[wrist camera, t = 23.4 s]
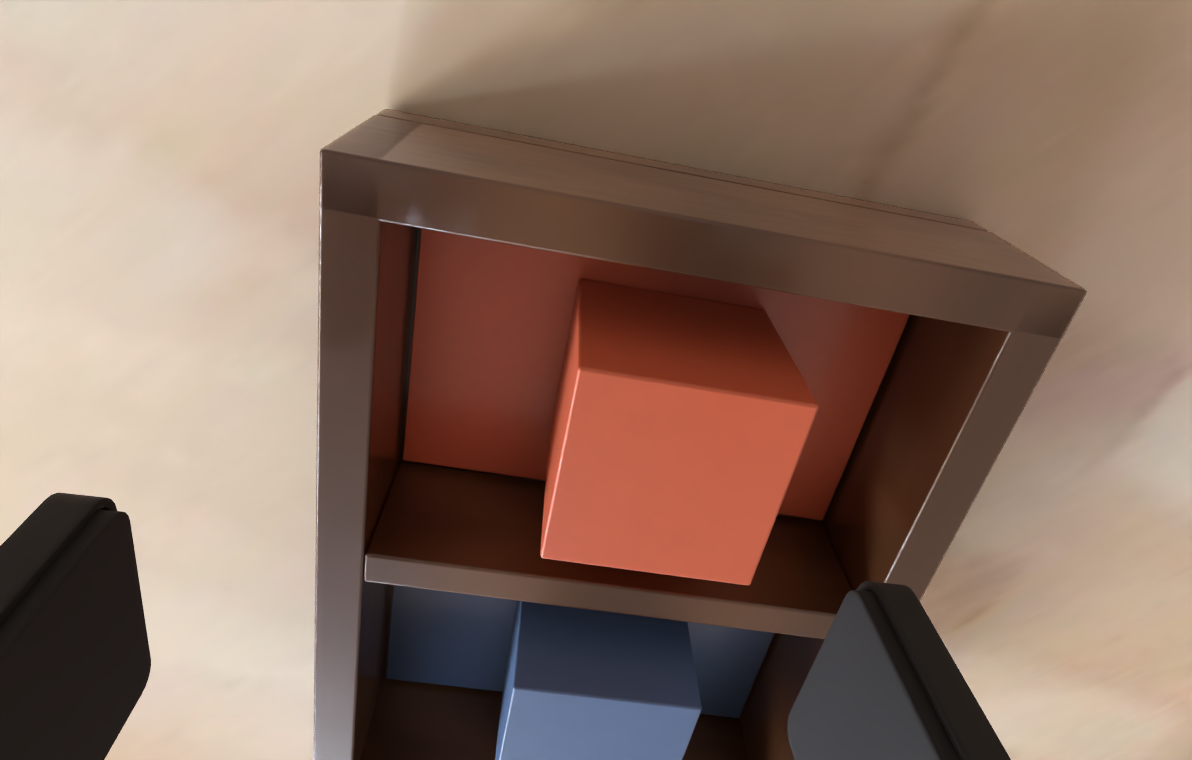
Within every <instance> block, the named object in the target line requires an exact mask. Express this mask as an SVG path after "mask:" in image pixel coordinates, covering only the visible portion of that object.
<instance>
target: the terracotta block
mask: <svg viewBox="0 0 1192 760" xmlns="http://www.w3.org/2000/svg"><path fill="white" fill-rule="evenodd" d="M818 408H819V407H818V403H817V402H816V400H815V398H814V396H813V395H812V393H811V391H810V389H809V387H808V386H807V384H806V382H805V380H804V378H803V377H802V375H801V373H800V371H799V370H798V368H797V366H796V364H795V362H794V361H793V359H792V357H791V355H790V353H789V352H788V350H787V348H786V346H785V345H784V343H783V341H782V339H781V337H780V336H779V334H778V332H777V330H776V328H775V327H774V325H773V323H772V321H771V320H770V318H769V316H768V314H767V312H766V311H764V310H759V309H754V308H748V307H742V306H736V305H731V304H725V303H719V302H713V301H707V300H702V299H696V298H690V297H684V296H679V295H673V294H667V293H661V292H655V291H650V290H644V289H638V288H632V287H627V286H621V285H615V284H609V283H603V282H598V281H592V280H586V279H580V280H579V281H578V286H577V291H576V296H575V302H574V307H573V312H572V318H571V323H570V328H569V334H568V339H567V344H566V349H565V355H564V360H563V365H562V371H561V376H560V381H559V387H558V392H557V397H556V402H555V408H554V413H553V418H552V424H551V429H550V434H549V441H548V455H547V469H546V482H545V496H544V510H543V523H542V537H541V550H540V555H541V558H544V559H552V560H559V561H567V562H574V563H582V564H589V565H597V566H605V567H612V568H620V569H627V570H635V571H642V572H650V573H658V574H665V575H673V576H680V577H688V578H695V579H703V580H710V581H718V582H726V583H733V584H741V585H750V584H751V582H752V579H753V576H754V574H755V571H756V569H757V566H758V564H759V561H760V558H761V556H762V553H763V551H764V548H765V545H766V543H767V540H768V538H769V535H770V532H771V530H772V527H773V525H774V522H775V520H776V517H777V514H778V512H779V509H780V507H781V504H782V501H783V499H784V496H785V494H786V491H787V488H788V486H789V483H790V481H791V478H792V476H793V473H794V470H795V468H796V465H797V463H798V460H799V457H800V455H801V452H802V450H803V447H804V444H805V442H806V439H807V437H808V434H809V432H810V429H811V426H812V424H813V421H814V419H815V416H816V413H817V411H818Z"/></svg>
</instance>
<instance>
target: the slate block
mask: <svg viewBox="0 0 1192 760" xmlns="http://www.w3.org/2000/svg"><path fill="white" fill-rule="evenodd" d="M701 710H702V707H701V701H700V695H699V689H698V683H697V677H696V671H695V664H694V658H693V652H692V646H691V640H690V634H689V628H688V622H684V621H676V620H668V619H660V618H652V617H644V616H636V615H628V614H620V613H612V612H604V611H596V610H588V609H580V608H572V607H564V606H556V605H549V604H541V603H533V602H525V601H517V606H516V611H515V617H514V622H513V627H512V633H511V638H510V643H509V648H508V654H507V659H506V666H505V674H504V683H503V692H502V701H501V710H500V719H499V728H498V737H497V746H496V755H495V760H682V759H683V757H684V754H685V751H686V749H687V746H688V744H689V741H690V738H691V736H692V733H693V731H694V728H695V726H696V723H697V720H698V718H699V715H700V713H701Z"/></svg>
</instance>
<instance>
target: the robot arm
mask: <svg viewBox="0 0 1192 760" xmlns="http://www.w3.org/2000/svg"><path fill="white" fill-rule="evenodd" d="M150 667H151V658H150V651H149V645H148V638H147V631H146V625H145V618H144V611H143V605H142V598H141V591H140V585H139V578H138V571H137V565H136V558H135V551H134V545H133V538H132V531H131V525H130V520H129V516H128V515H127V514H126V513H125V512H118V511H117V509H116V506H115V503H114V502H113V501H112V500H111V499H109V498H103V497H93V496H84V495H75V494H66V493H56V494H53V495H51V496H50V497H48V498H47V499H46V500H45V501H44V502H43V503H42V504H41V505H40V506H39V507H38V508H37V509H36V510H35V511H34V512H33V513H32V514H31V515H30V516H29V517H28V518H27V519H26V520H25V521H24V522H23V523H22V524H21V525H20V526H19V527H18V529H17V530H16V531H15V532H14V533H13V534H12V535H11V536H10V537H9V538H8V539H7V540H6V541H5V542H4V543H3V544H2V545H1V546H0V760H104V759H105V757H106V755H107V754H108V752H109V750H110V748H111V747H112V745H113V743H114V741H115V740H116V738H117V736H118V734H119V733H120V731H121V729H122V727H123V726H124V724H125V722H126V721H127V719H128V717H129V715H130V714H131V712H132V710H133V708H134V707H135V705H136V703H137V701H138V700H139V698H140V696H141V694H142V692H143V690H144V688H145V686H146V683H147V681H148V677H149V673H150ZM787 731H788V739H789V743H790V746H791V750H792V753H793V756H794V760H1011V759H1010V758H1009V756H1008V754H1007V752H1006V751H1005V749H1004V747H1003V745H1002V744H1001V742H1000V740H999V738H998V737H997V735H996V733H995V732H994V730H993V728H992V726H991V725H990V723H989V721H988V719H987V718H986V716H985V714H984V712H983V711H982V709H981V707H980V706H979V704H978V702H977V700H976V699H975V697H974V695H973V693H972V692H971V690H970V688H969V687H968V685H967V683H966V681H965V680H964V678H963V676H962V674H961V673H960V671H959V669H958V667H957V666H956V664H955V662H954V661H953V659H952V657H951V655H950V654H949V652H948V650H947V648H946V647H945V645H944V643H943V641H942V640H941V638H940V636H939V635H938V633H937V631H936V629H935V628H934V626H933V624H932V622H931V621H930V619H929V617H928V615H927V614H926V612H925V610H924V609H923V607H922V605H921V603H920V602H919V600H918V598H917V596H916V595H915V593H914V592H913V591H912V589H911V588H909V587H908V586H906V585H900V584H891V583H882V582H873V581H864V582H863V583H861V584H860V585H859V587H858V588H857V590H851V591H849V592H848V593H847V594H846V596H845V598H844V600H843V602H842V604H841V606H840V608H839V610H838V612H837V614H836V617H835V619H834V621H833V623H832V625H831V627H830V629H829V631H828V633H827V636H826V638H825V640H824V642H823V644H822V646H821V648H820V650H819V652H818V654H817V657H816V659H815V661H814V663H813V665H812V667H811V669H810V671H809V673H808V675H807V678H806V680H805V682H804V684H803V686H802V688H801V690H800V692H799V694H798V696H797V699H796V701H795V703H794V705H793V707H792V709H791V711H790V714H789V717H788V726H787Z"/></svg>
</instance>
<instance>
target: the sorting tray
mask: <svg viewBox="0 0 1192 760" xmlns="http://www.w3.org/2000/svg"><path fill="white" fill-rule="evenodd" d="M580 279H586V280H592V281H598V282H603V283H609V284H615V285H621V286H627V287H632V288H638V289H644V290H650V291H655V292H661V293H667V294H673V295H679V296H684V297H690V298H696V299H702V300H707V301H713V302H719V303H725V304H731V305H736V306H742V307H748V308H754V309H759V310H764V311H766V312H767V314H768V316H769V318H770V320H771V321H772V323H773V325H774V327H775V328H776V330H777V332H778V334H779V336H780V337H781V339H782V341H783V343H784V345H785V346H786V348H787V350H788V352H789V353H790V355H791V357H792V359H793V361H794V362H795V364H796V366H797V368H798V370H799V371H800V373H801V375H802V377H803V378H804V380H805V382H806V384H807V386H808V387H809V389H810V391H811V393H812V395H813V396H814V398H815V400H816V402H817V403H818V407H819V408H818V411H817V413H816V416H815V419H814V421H813V424H812V426H811V429H810V432H809V434H808V437H807V439H806V442H805V444H804V447H803V450H802V452H801V455H800V457H799V460H798V463H797V465H796V468H795V470H794V473H793V476H792V478H791V481H790V483H789V486H788V488H787V491H786V494H785V496H784V499H783V501H782V504H781V507H780V509H779V512H778V514H777V517H776V520H775V522H774V525H773V527H772V530H771V532H770V535H769V538H768V540H767V543H766V545H765V548H764V551H763V553H762V556H761V558H760V561H759V564H758V566H757V569H756V571H755V574H754V576H753V579H752V582H751V584H750V585H741V584H733V583H726V582H718V581H710V580H703V579H695V578H688V577H680V576H673V575H665V574H658V573H650V572H642V571H635V570H627V569H620V568H612V567H605V566H597V565H589V564H582V563H574V562H567V561H559V560H552V559H544V558H541V555H540V550H541V537H542V523H543V510H544V496H545V482H546V469H547V455H548V441H549V434H550V429H551V424H552V418H553V413H554V408H555V402H556V397H557V392H558V387H559V381H560V376H561V371H562V365H563V360H564V355H565V349H566V344H567V339H568V334H569V328H570V323H571V318H572V312H573V307H574V302H575V296H576V291H577V286H578V281H579V280H580ZM1085 295H1086V290H1085V289H1084V288H1082V287H1080V286H1079V285H1077V284H1075V283H1074V282H1072V281H1070V280H1069V279H1067V278H1065V277H1064V276H1062V275H1061V274H1059V273H1057V272H1056V271H1054V270H1052V269H1051V268H1049V267H1047V266H1046V265H1044V264H1042V263H1041V262H1039V261H1038V260H1036V259H1034V258H1033V257H1031V256H1029V255H1028V254H1026V253H1024V252H1023V251H1021V250H1019V249H1018V248H1016V247H1015V246H1013V245H1011V244H1010V243H1008V242H1006V241H1005V240H1003V239H1001V238H1000V237H998V236H996V235H995V234H993V233H992V232H989V231H987V230H986V229H984V228H983V227H981V226H979V225H978V224H976V223H974V222H973V221H967V220H962V219H957V218H952V217H946V216H941V215H936V214H931V213H926V212H920V211H915V210H910V209H905V208H900V207H894V206H889V205H884V204H879V203H873V202H868V201H863V200H858V199H853V198H847V197H842V196H837V195H832V194H827V193H821V192H816V191H811V190H806V189H801V188H795V187H790V186H785V185H780V184H774V183H769V182H764V181H759V180H754V179H748V178H743V177H738V176H733V175H728V174H722V173H717V172H712V171H707V170H701V169H696V168H691V167H686V166H681V165H675V164H670V163H665V162H660V161H655V160H649V159H644V158H639V157H634V156H628V155H623V154H618V153H613V152H608V151H602V150H597V149H592V148H587V147H582V146H576V145H571V144H566V143H561V142H555V141H550V140H545V139H540V138H535V137H529V136H524V135H519V134H514V133H509V132H503V131H498V130H493V129H488V128H483V127H477V126H472V125H467V124H462V123H456V122H451V121H446V120H441V119H436V118H430V117H425V116H420V115H415V114H410V113H404V112H399V111H394V110H389V109H386V110H383V111H381V112H380V113H378V114H377V115H374V116H373V117H371V118H369V119H368V120H366V121H365V122H363V123H362V124H360V125H358V126H357V127H355V128H354V129H352V130H351V131H349V132H347V133H346V134H344V135H343V136H341V137H340V138H338V139H336V140H335V141H333V142H332V143H330V144H329V145H327V146H325V147H324V148H322V149H321V151H320V198H319V298H318V389H317V480H316V571H315V662H314V754H313V760H495V755H496V746H497V737H498V728H499V719H500V710H501V701H502V692H503V683H504V674H505V666H506V659H507V654H508V648H509V643H510V638H511V633H512V627H513V622H514V617H515V611H516V606H517V601H525V602H533V603H541V604H549V605H556V606H564V607H572V608H580V609H588V610H596V611H604V612H612V613H620V614H628V615H636V616H644V617H652V618H660V619H668V620H676V621H684V622H688V628H689V634H690V640H691V646H692V652H693V658H694V664H695V671H696V677H697V683H698V689H699V695H700V701H701V707H702V710H701V713H700V715H699V718H698V720H697V723H696V726H695V728H694V731H693V733H692V736H691V738H690V741H689V744H688V746H687V749H686V751H685V754H684V757H683V759H682V760H794V756H793V753H792V750H791V746H790V743H789V739H788V731H787V726H788V717H789V714H790V711H791V709H792V707H793V705H794V703H795V701H796V699H797V696H798V694H799V692H800V690H801V688H802V686H803V684H804V682H805V680H806V678H807V675H808V673H809V671H810V669H811V667H812V665H813V663H814V661H815V659H816V657H817V654H818V652H819V650H820V648H821V646H822V644H823V642H824V640H825V638H826V636H827V633H828V631H829V629H830V627H831V625H832V623H833V621H834V619H835V617H836V614H837V612H838V610H839V608H840V606H841V604H842V602H843V600H844V598H845V596H846V594H847V593H848V592H849V591H851V590H857V588H858V587H859V585H860V584H861V583H863V582H864V581H873V582H882V583H891V584H900V585H906V586H908V587H909V588H911V589H912V591H913V592H914V593H915V595H916V596H917V598H918V600H919V601H920V600H921V598H922V596H923V594H924V592H925V590H926V589H927V587H928V585H929V583H930V581H931V579H932V577H933V576H934V574H935V572H936V570H937V568H938V566H939V564H940V563H941V561H942V559H943V557H944V555H945V553H946V551H947V550H948V548H949V546H950V544H951V542H952V540H953V539H954V537H955V535H956V533H957V531H958V529H959V527H960V526H961V524H962V522H963V520H964V518H965V516H966V514H967V513H968V511H969V509H970V507H971V505H972V503H973V502H974V500H975V498H976V496H977V494H978V492H979V490H980V489H981V487H982V485H983V483H984V481H985V479H986V477H987V476H988V474H989V472H990V470H991V468H992V466H993V464H994V463H995V461H996V459H997V457H998V455H999V453H1000V452H1001V450H1002V448H1003V446H1004V444H1005V442H1006V440H1007V439H1008V437H1009V435H1010V433H1011V431H1012V429H1013V427H1014V426H1015V424H1016V422H1017V420H1018V418H1019V416H1020V415H1021V413H1022V411H1023V409H1024V407H1025V405H1026V403H1027V402H1028V400H1029V398H1030V396H1031V394H1032V392H1033V390H1034V389H1035V387H1036V385H1037V383H1038V381H1039V379H1040V377H1041V376H1042V374H1043V372H1044V370H1045V368H1046V366H1047V365H1048V363H1049V361H1050V359H1051V357H1052V355H1053V353H1054V352H1055V350H1056V348H1057V346H1058V344H1059V342H1060V340H1061V339H1062V337H1063V336H1064V334H1065V332H1066V330H1067V328H1068V326H1069V324H1070V323H1071V321H1072V319H1073V317H1074V315H1075V313H1076V311H1077V310H1078V308H1079V306H1080V304H1081V302H1082V300H1083V299H1084V297H1085Z"/></svg>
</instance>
